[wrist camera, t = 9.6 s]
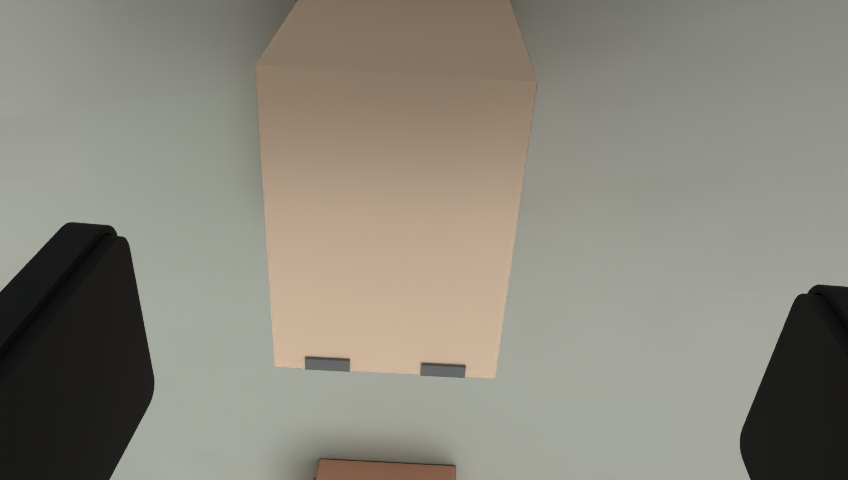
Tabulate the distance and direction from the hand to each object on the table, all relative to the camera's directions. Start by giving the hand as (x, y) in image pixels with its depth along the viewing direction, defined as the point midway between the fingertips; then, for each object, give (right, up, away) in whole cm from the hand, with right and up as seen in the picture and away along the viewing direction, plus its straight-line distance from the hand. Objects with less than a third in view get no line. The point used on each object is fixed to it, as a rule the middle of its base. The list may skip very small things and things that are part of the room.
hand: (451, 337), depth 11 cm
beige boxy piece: (-1, +5, +9) cm, 10 cm away
